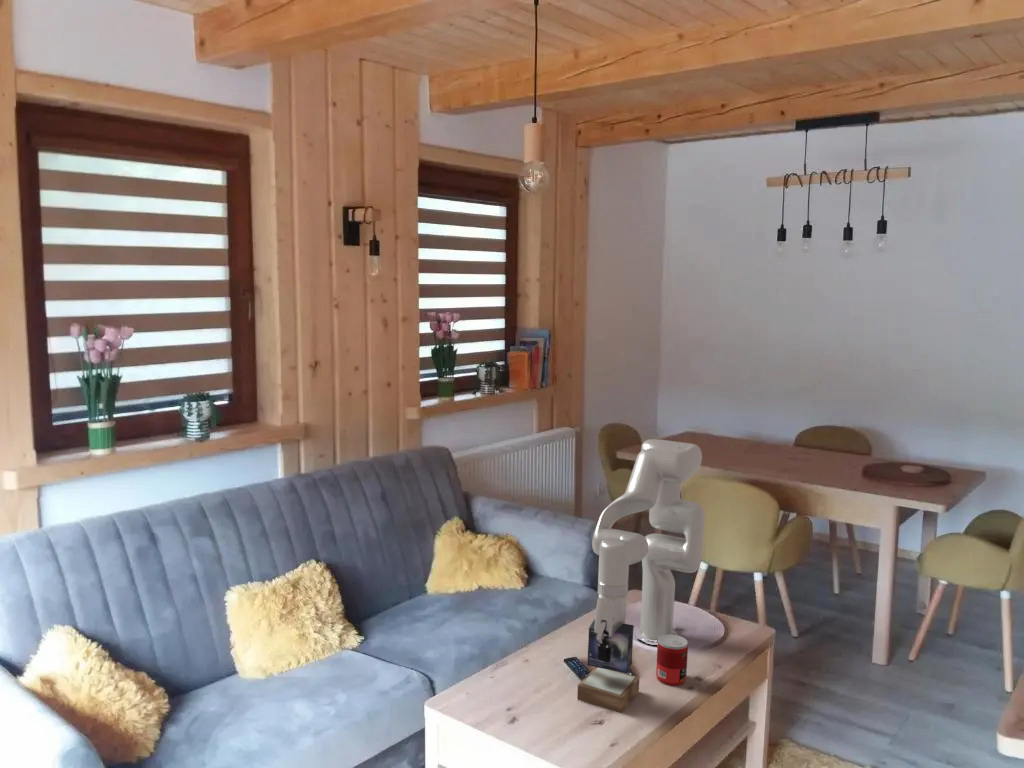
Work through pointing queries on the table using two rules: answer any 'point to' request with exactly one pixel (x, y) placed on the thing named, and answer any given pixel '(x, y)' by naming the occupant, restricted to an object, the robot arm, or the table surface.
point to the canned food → (672, 659)
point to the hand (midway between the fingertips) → (609, 654)
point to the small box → (612, 649)
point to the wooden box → (608, 689)
